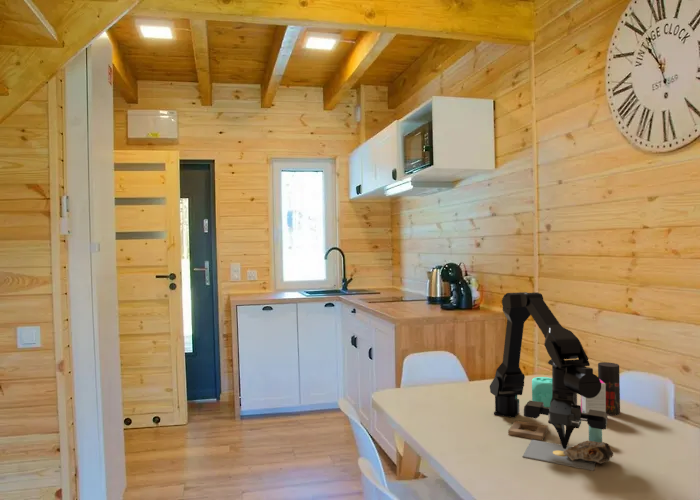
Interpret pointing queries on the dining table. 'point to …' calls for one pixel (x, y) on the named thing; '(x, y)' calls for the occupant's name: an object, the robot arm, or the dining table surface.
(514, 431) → the brown square frame
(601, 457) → the rock
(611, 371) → the deodorant
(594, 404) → the supplement box
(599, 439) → the peg
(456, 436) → the dining table surface
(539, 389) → the decorative dice
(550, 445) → the card
